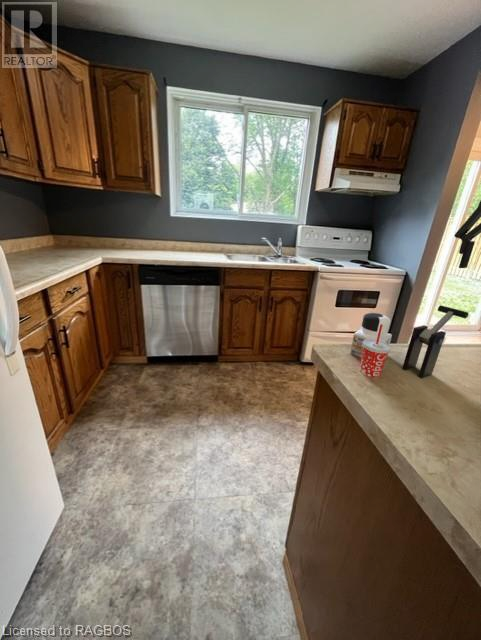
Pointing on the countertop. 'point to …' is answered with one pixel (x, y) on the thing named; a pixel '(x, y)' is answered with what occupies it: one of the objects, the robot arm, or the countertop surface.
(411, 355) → the bracket
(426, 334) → the lever
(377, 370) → the beverage cup
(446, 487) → the countertop surface
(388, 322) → the container
